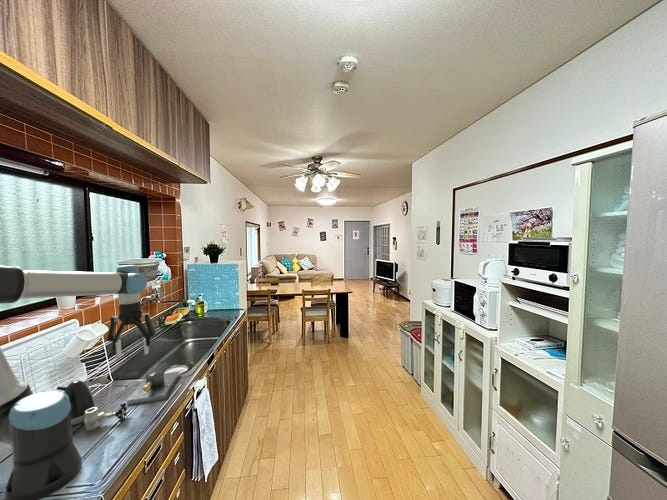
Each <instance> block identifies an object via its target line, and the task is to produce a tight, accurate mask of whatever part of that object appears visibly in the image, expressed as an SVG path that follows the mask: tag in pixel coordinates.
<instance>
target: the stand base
mask: <svg viewBox="0 0 667 500" xmlns="http://www.w3.org/2000/svg"><path fill="white" fill-rule="evenodd" d="M154 370H156V367H150V368H149V369H148V370H147V372H146V374H147V373H149V372H151V371H154ZM179 377H180V371H174V372H166V373H165V372H164V383H163V384H162V385H160V386H158V387H155V388H151V389H150V391H148V392H143V387H144V386H145V385H146V377H144V379H143V380H142V381H141V383H140V384H139V385H138V386H137V388H135V390H134V391H133V392H132V393H131V395H130V396H129V398H127V400H126V406H131V405H137V404H145V403H150V402H157V401H164V400H166V399H167V398H168V395H169V393H170V392H171V390H172V389H173V388H174V385H175V383H176V382H177V380H178V378H179Z"/></svg>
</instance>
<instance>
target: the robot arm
mask: <svg viewBox="0 0 667 500" xmlns="http://www.w3.org/2000/svg"><path fill="white" fill-rule="evenodd" d="M147 286H148V279H147V278H146V276H145V275H143V274H142V273H140V269H139V266H138V265H137V264H127V265H126V264H125V265H118V266H117V267H116V270H115V271H111V272H109V271H108V272H101V271H100V272H97V271H96V272H93V271H62V270H61V271H57V270H56V271H54V270H53V271H52V270H49V271H48V270H24V269H22V268H21V267H20V266H14V265H13V266H12V265H11V266H10V265H9V266H8V265H7V266H6V265H0V305H1V304H3V305H4V304H13V303H17V302H18V301H19V300H21V299H22V300H23V299H37V298H38V299H39V298H59V297H60V298H62V297H63V298H65V297H78V296H79V297H81V296H82V297H84V296H85V297H86V296H101V295H102V296H103V295H104V296H105V295H117V296H118V297H117V298H118V301H117V302H118V303H119V304H118V312H119V315H113V316H112V317H110V319H109V320H110V325H109V330H108V333H107V337H106V342H112V347H113V350H114V351H115V358H116V359H118V358H120V357H121V356H122V342H121V341H122V340H121V339H119V338H120V337H121V335H122V333H123V331H124V329H125V328H126V326H129V325H135V327H137V328H138V330H139V331H140V333H141V334H142V335H143V337H144V338H143V340H142V341H143V352H144V353H143V355H148V353H149V350H150V349H149V347H150V346H151V344H152V343H151V338H153V337H154V336H155V335H156V332H155V329H154V325H153V323H152V320H151V313H150V312H148V313H143V312H142V305H141V304H142V302H141V300H142V299H141V298H142V297H141V293H143V292H144V291H145V290H146V288H147ZM141 318H143V319H144V322H145V325H144V323H143V321H142V320H141ZM118 321H120V322H121V323H120V324H119V328H118V329H117V328H116V327H117V325H118ZM116 329H117V331H116ZM115 332H116V333H115ZM70 410H71V404H70V401H69V397H68V395H67V394H66V393H64V391H62V390H50V391H46V390H45V391H40V392H36V393H34V392H33V391H32V388H31V387H30V385H29V382H28V381H25V380H18V379H17V377H16V375H15V373H14V371H13V369H12V367H11V365H10V364H9V361H8V359H7V358H6V356H5V354H4V352H3V349H2V348H1V347H0V443H3V444H7V445H11V449H12V461H13V467H12V468H11V469H12V470H11V472H10V475H9V479H8V480H7V483H6V487H5V489H4V490H5V491H4V492H5V493H4V494H5V500H40V499H42V498H44V497H47V496H48V495H49V496H50V495H51V494H52V493H54V492H56V491H58V490H59V489H61V488H63V487H64V486H66V485H67V484H69V483H70V482H71V481H72V480H73V479H75V477H76V476H77V475H78V474H79V473H80V472H81V469H82V466H83V460H82V455H81V454H80V453H79V451H78V450H77V447H76V445H75V444H74V442H73V434H72V433H73V432H72V431H73V430H72V425H71V413H70Z"/></svg>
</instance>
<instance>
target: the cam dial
mask: <svg viewBox="0 0 667 500" xmlns="http://www.w3.org/2000/svg"><path fill="white" fill-rule="evenodd" d="M164 374H165V371H164V370H163V369H155V370H154V371H151V372H149V373H147V372H146V374H145V378H146V385H145V386H144V387H143V392H148V391H150V389H151V388H155V387H158V386H160V385H162V384H163V383H164Z"/></svg>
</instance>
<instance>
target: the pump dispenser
mask: <svg viewBox="0 0 667 500" xmlns="http://www.w3.org/2000/svg"><path fill="white" fill-rule="evenodd" d="M56 391H61V392H64V393H66V394H67V395H68V397H69V401H70V404H71V410H70V413H71V426H75V425H79V424H81V423H84V419H85V411H86V410H88V409H90V408H93V407H96V404H95V403H96V402H95V399H94V394H92V393H93V392H92V391H91V389H90V387H89V386H88V385H87V384H86V382H84V381H83V380H74V381H71V382H70V383H69V384H68V385H66V386H57V387H56Z"/></svg>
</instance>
